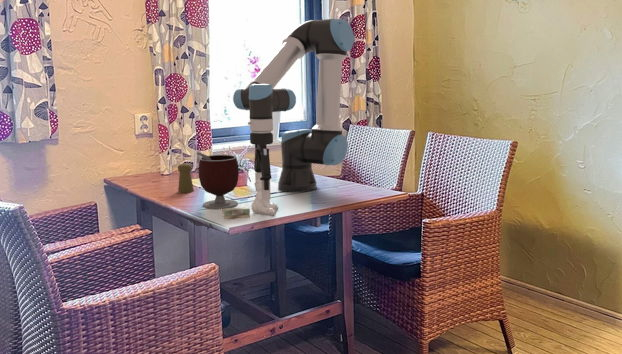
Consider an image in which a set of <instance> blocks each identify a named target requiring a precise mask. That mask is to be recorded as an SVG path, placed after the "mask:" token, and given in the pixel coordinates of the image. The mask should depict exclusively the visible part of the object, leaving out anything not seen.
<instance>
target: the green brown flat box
mask: <svg viewBox="0 0 622 354" xmlns="http://www.w3.org/2000/svg"><path fill="white" fill-rule="evenodd" d="M250 209H251V208H250V207H246V206H243V207H241V206H240V207H239V206H238V207H233V208H225V209H221V212H222V215H223V217H225V218H224V219H227V220H237V219H250V218H251V212H250Z"/></svg>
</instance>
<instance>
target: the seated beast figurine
mask: <svg viewBox="0 0 622 354" xmlns="http://www.w3.org/2000/svg"><path fill="white" fill-rule="evenodd" d="M254 187H255V190H256V189H257V190H258V192H256V193H255V199H254V200H253V201H252V203H251V206H250V207H251V208H250V209H251V211H252V213H254V214H255V215H259V214H260V215H261V216H268V217H269V216H271V217H275V216H276V215H277V211H278V204H275V203H274V202H270V200H262V183H261V180H260V179H257V180H256V181H255V182H254Z"/></svg>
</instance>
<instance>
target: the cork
mask: <svg viewBox="0 0 622 354" xmlns="http://www.w3.org/2000/svg"><path fill="white" fill-rule="evenodd" d="M177 170H178V172H179V177H178V187H177V188H178V190H177V192H178V193H179V194H189V193H194V191H195V190H194V183H193V180H192V179H193V178H192V175H191V172H192V165H191V164H190V163H186V162H185V163H179V165H178V166H177Z"/></svg>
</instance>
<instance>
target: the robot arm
mask: <svg viewBox="0 0 622 354" xmlns="http://www.w3.org/2000/svg"><path fill="white" fill-rule="evenodd" d="M354 43H355V36H354V31H353V28H352V27H351V24H350V23H349V21H347V20H346V19H341V18H329V19H310V20H308V21H304V22H303V23H301V24H299V25H298V26H296V27H295V28H294V29H293V30H292V31H290V32H289V33H288V34H287V35H286V37H284V38H283V40H282V43H281V46H280V48H279V49H278V50H277V51H276V52H275V53H274V55H273V56H272V57H271V58H270V59H269V61H267V63H266V64H265V65H264V66H263V68H262V69H261V70H260V71H259V72H258V73H257V75H255V77H254V78H253V79H252V80H251V82H250V83H249V84H248V85H247V86H246V87H242V88H241V87H239V88H237V89H236V90H235V91H234V93H233V97H232V101H233V104H234V106H235V108H236V109H238V110H242V111H249V121H248V122H247V125H248V126H249V131H251V132H250V133H249V143H250V144H251V145H254V161H253V162H254V165H253V169H254V172H255V173H254V174H255V175H254V176H255V178H254V180H255V181H256V180H257V179H260V180H261V183H262V200H269V201H270V200H271V199H272V197H271V180H272V172H271V171H272V170H271V162H270V149H269V148H267V145H271V144H273V143H274V133H273V130H274V118H273V116H274V115H273V113H279V112H287V111H290V110H293V109H294V107H295V106H296V104H297V96H296V93H295V92H294V91H293V90H291V89H289V88H275V87H276V86H277V85H278V83H279V82H280V81H281V80H282V79H283V77H284V76H285V75H286V74H287V72H288V71H289V70H290V69H291V68H292V66H293V65H294V64H295V63H296V62H297V60H299V59H302V58H303V57H304V56H305V55H306V54H308V53H313V52H315V57H317V59H318V78H317V79H318V82H317V98H316V116H315V117H316V118H315V125H314V126H313V127H312V128H302V129H294V130H288V131H287V130H286V131H284V132H283V133H282V134H281V142H280V145H281V146H280V147H281V165H282V166H281V172H280V175H279V179H278V183H277V184H278V185H277V186H278V190H279V191H284V192H291V193H296V192H297V193H299V192H309V191H313V190H316V189H317V180H316V177H315V174H314V171H313V167H312V166H313V165H312V164H315V165H322V166H323V165H324V166H338V165H339V164H341V163H342V162H343V161H344V159H345V158H346V156H347V154H348V149H349V142H348V139H347V137H346V135H344V134H343V129H342V128H341V126H340V125H339V123H340V112H341V111H340V107H341V93H342V92H341V90H342V73H343V72H342V70H343V61H344V60H345V59H347V56H348V54H347V53H348V52H349V51H352V48H353V47H354ZM255 192H256V193H257V192H258V190H257V189H256V188H255Z"/></svg>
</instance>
